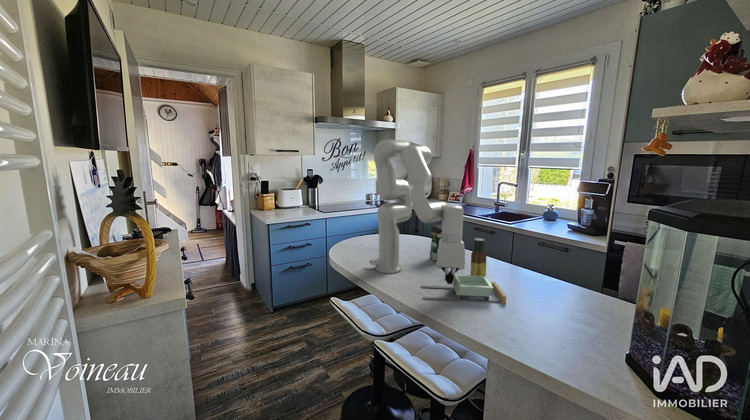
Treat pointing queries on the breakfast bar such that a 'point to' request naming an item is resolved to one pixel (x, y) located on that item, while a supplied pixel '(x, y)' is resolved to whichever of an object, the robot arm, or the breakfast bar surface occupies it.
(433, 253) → the coffee jar
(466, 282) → the cart
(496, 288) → the track
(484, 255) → the sauce bottle
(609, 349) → the breakfast bar surface
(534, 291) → the breakfast bar surface
